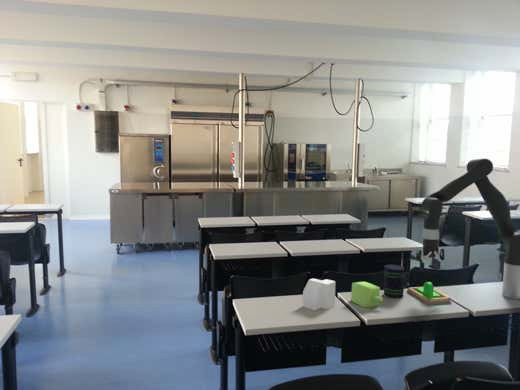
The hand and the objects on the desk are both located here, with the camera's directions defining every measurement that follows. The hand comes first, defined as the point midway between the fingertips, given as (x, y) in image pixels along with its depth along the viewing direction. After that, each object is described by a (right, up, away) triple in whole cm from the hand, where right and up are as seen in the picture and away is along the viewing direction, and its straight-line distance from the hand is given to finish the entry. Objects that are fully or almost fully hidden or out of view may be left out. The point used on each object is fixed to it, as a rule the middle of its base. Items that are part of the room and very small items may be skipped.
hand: (429, 269), depth 211 cm
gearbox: (-34, -16, -8) cm, 38 cm away
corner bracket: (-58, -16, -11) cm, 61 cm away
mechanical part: (0, -14, +1) cm, 14 cm away
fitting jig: (0, -15, +2) cm, 15 cm away
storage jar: (-17, -15, +5) cm, 23 cm away
